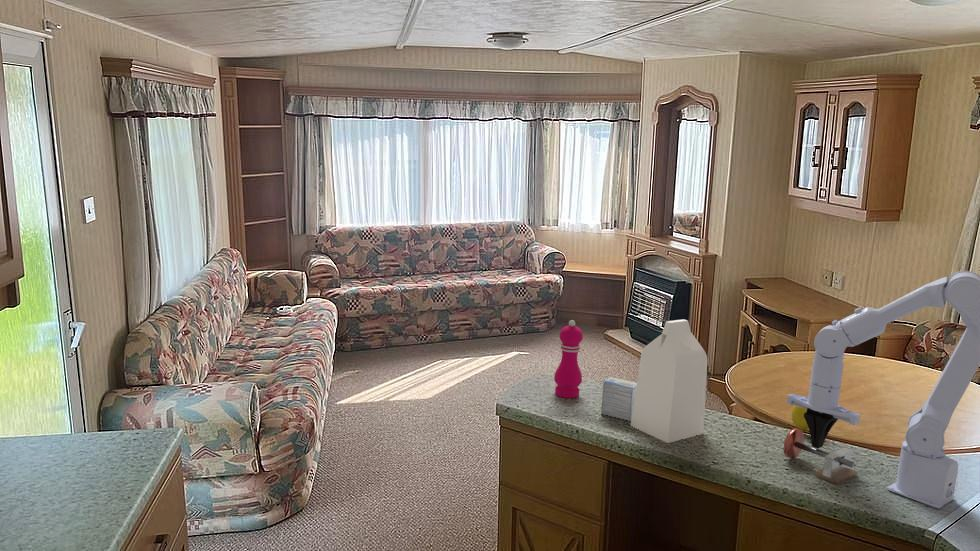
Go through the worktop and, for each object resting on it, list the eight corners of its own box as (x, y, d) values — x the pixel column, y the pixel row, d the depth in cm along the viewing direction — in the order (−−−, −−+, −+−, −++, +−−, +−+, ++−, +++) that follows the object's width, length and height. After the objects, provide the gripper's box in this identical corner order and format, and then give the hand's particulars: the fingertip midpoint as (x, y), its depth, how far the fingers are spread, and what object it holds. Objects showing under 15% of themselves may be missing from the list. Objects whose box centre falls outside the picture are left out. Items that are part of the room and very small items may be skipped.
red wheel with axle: (858, 475, 148) (862, 446, 147) (843, 483, 144) (847, 453, 143) (792, 451, 159) (796, 423, 158) (776, 458, 155) (780, 429, 154)
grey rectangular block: (637, 417, 177) (640, 383, 175) (630, 422, 173) (633, 387, 171) (607, 409, 181) (610, 376, 179) (600, 414, 177) (602, 380, 175)
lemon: (817, 436, 170) (821, 403, 168) (792, 433, 171) (796, 401, 169) (811, 428, 175) (815, 396, 174) (787, 425, 176) (791, 393, 175)
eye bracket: (857, 475, 149) (860, 452, 149) (838, 485, 144) (841, 461, 144) (833, 466, 153) (836, 444, 152) (813, 475, 148) (816, 452, 147)
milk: (665, 417, 177) (675, 313, 173) (703, 433, 168) (714, 324, 164) (630, 425, 171) (639, 317, 166) (667, 443, 161) (678, 329, 157)
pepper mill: (552, 397, 188) (557, 322, 184) (554, 388, 195) (559, 316, 191) (580, 400, 186) (585, 324, 183) (581, 391, 193) (586, 318, 190)
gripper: (870, 390, 146) (861, 454, 148) (801, 371, 157) (794, 431, 160) (853, 396, 142) (844, 462, 144) (784, 376, 153) (777, 437, 155)
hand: (817, 446), depth 152 cm, fingers closed
